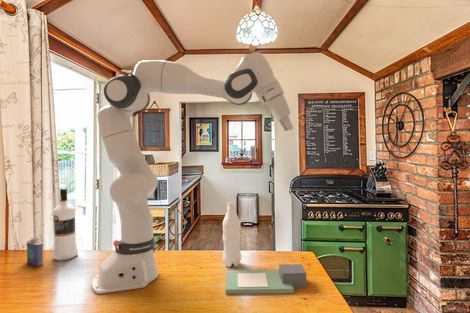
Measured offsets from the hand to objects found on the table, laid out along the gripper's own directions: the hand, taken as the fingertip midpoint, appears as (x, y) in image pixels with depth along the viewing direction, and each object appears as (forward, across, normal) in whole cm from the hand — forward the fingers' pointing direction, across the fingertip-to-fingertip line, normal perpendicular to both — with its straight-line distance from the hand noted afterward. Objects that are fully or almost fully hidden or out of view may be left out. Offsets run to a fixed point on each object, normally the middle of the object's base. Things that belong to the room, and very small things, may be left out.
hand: (289, 130), depth 102 cm
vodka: (+4, -14, -109) cm, 110 cm away
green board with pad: (+43, +6, -32) cm, 54 cm away
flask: (0, -7, -116) cm, 116 cm away
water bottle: (+38, -9, -44) cm, 58 cm away
